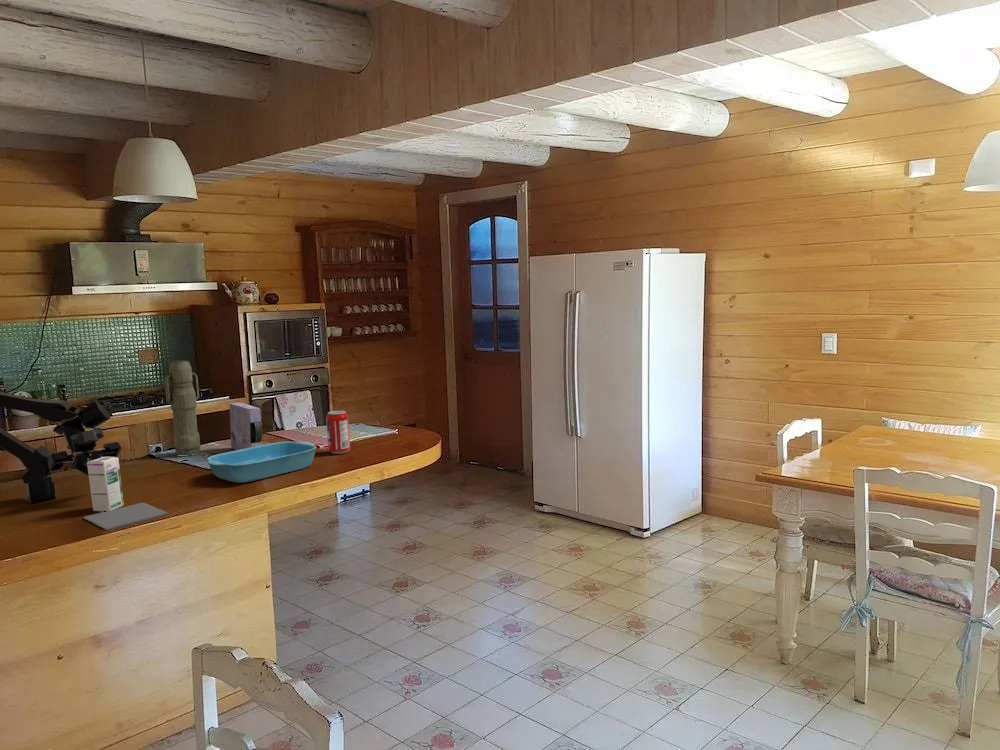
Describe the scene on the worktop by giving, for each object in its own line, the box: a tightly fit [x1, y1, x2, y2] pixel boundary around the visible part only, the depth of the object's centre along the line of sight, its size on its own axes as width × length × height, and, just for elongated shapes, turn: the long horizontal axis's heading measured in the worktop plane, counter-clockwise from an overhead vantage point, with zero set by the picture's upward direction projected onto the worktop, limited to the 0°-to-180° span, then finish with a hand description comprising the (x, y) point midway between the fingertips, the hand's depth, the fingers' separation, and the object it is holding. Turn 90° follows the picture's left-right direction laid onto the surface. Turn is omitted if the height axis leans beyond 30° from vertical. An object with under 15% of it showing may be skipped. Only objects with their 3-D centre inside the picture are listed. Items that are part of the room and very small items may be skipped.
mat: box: [83, 502, 169, 531], centre depth 201 cm, size 16×16×1 cm
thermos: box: [163, 359, 201, 455], centre depth 272 cm, size 9×12×35 cm
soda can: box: [325, 410, 351, 455], centre depth 267 cm, size 8×8×15 cm
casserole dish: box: [206, 441, 317, 484], centre depth 244 cm, size 37×22×7 cm, turn 140°
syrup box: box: [87, 457, 125, 512], centre depth 208 cm, size 6×6×14 cm
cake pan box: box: [229, 402, 263, 451], centre depth 274 cm, size 19×5×18 cm, turn 42°
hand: (95, 478), depth 214 cm, fingers closed
